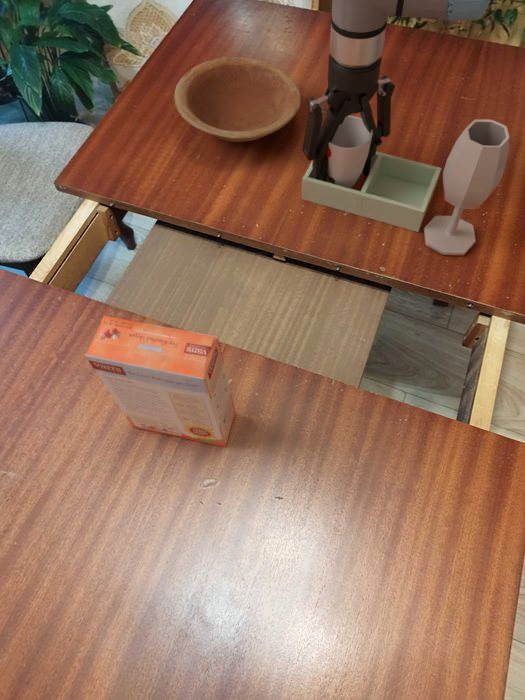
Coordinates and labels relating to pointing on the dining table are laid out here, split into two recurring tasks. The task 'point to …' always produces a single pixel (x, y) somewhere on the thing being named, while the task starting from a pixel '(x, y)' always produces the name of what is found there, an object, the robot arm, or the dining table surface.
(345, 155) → the cup
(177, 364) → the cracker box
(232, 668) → the dining table surface
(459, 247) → the wineglass
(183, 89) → the bowl
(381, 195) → the divided tray
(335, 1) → the robot arm
